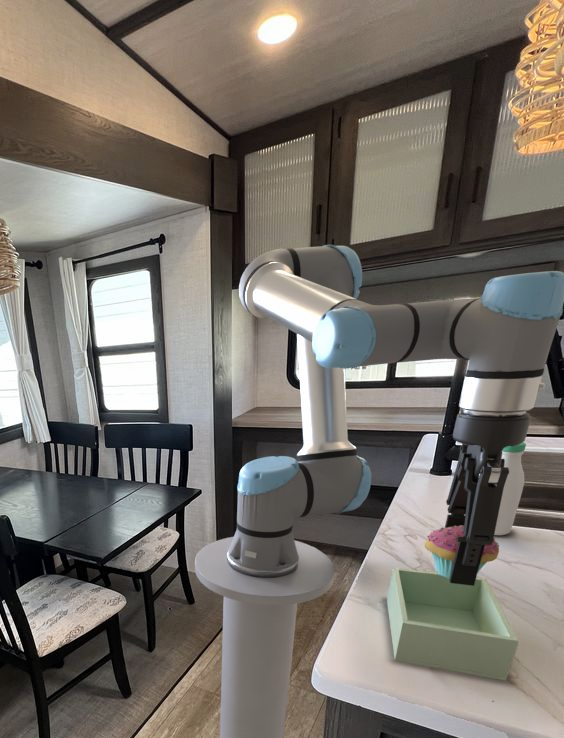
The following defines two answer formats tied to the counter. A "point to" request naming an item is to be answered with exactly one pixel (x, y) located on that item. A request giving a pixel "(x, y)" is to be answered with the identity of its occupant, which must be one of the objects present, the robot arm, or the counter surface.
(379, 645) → the counter surface
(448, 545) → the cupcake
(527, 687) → the counter surface
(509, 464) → the milk bottle
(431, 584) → the tub
